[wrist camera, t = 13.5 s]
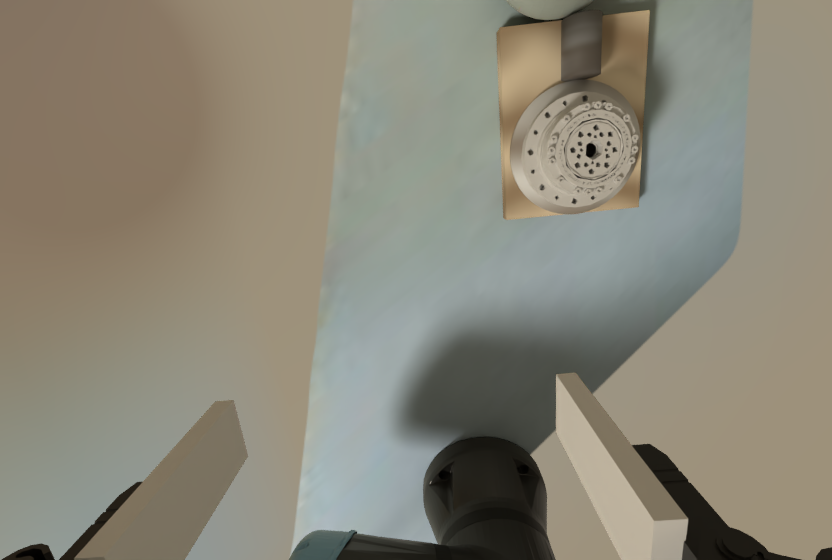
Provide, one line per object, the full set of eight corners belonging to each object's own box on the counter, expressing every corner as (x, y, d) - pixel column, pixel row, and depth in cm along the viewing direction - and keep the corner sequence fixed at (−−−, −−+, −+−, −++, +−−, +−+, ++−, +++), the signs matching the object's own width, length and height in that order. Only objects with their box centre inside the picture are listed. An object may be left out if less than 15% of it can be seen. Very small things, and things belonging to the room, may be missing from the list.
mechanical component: (619, 205, 37) (634, 93, 34) (645, 210, 33) (664, 82, 30) (517, 206, 37) (524, 95, 35) (529, 210, 33) (538, 84, 30)
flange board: (630, 205, 39) (657, 210, 35) (503, 218, 40) (514, 224, 35) (640, 16, 35) (673, -7, 30) (496, 33, 35) (507, 12, 31)
